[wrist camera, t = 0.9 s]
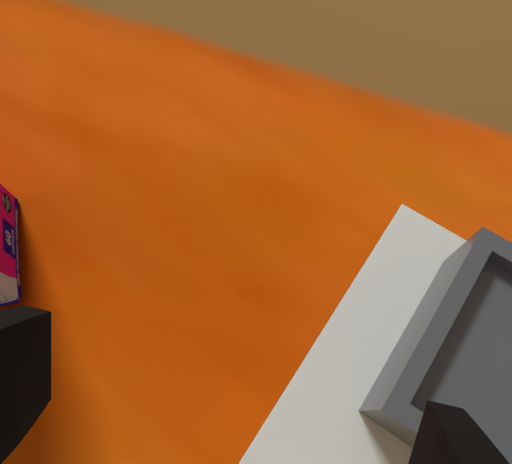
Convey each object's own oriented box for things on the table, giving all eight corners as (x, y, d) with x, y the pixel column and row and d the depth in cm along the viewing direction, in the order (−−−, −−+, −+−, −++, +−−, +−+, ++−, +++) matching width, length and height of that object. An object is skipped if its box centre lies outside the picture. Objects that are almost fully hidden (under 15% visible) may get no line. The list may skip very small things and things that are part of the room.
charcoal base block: (539, 535, 18) (616, 569, 14) (358, 410, 20) (381, 409, 16) (611, 359, 21) (695, 345, 17) (443, 260, 22) (482, 226, 18)
